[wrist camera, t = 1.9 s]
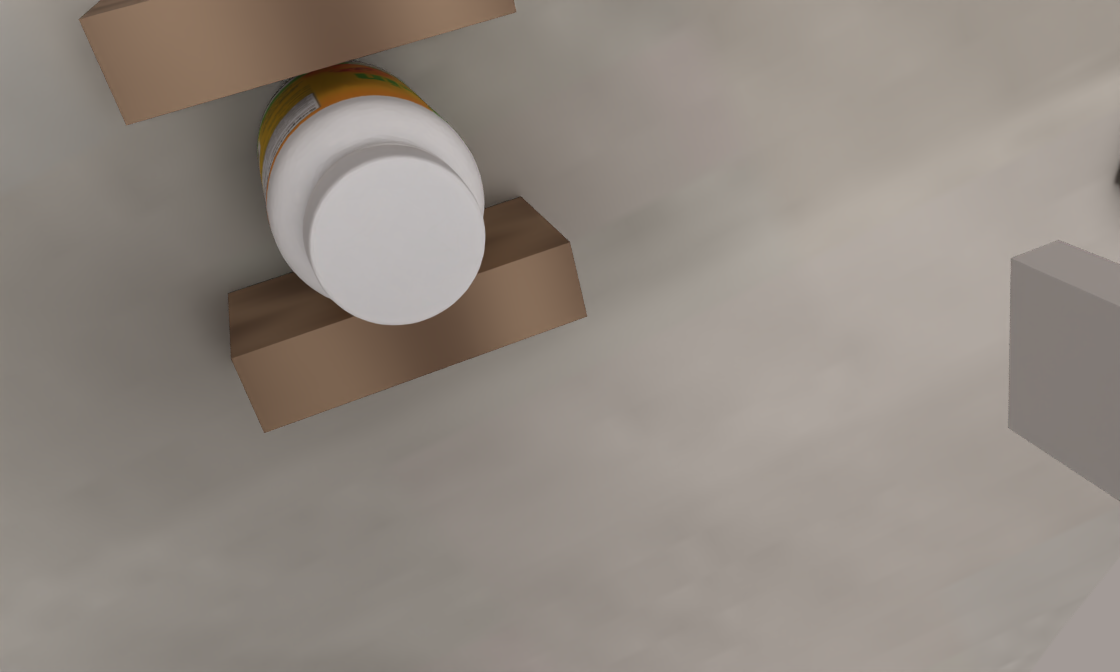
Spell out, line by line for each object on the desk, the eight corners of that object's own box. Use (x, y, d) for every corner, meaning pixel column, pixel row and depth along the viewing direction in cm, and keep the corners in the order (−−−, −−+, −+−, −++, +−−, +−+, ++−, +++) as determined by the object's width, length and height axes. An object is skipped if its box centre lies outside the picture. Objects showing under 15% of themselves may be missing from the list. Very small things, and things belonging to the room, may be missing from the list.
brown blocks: (256, 359, 31) (264, 433, 27) (100, 0, 26) (78, 19, 21) (537, 262, 33) (586, 316, 29) (448, -92, 28) (492, -91, 23)
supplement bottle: (465, 125, 30) (562, 209, 22) (370, 260, 31) (430, 392, 23) (319, 20, 28) (367, 70, 19) (220, 171, 28) (225, 282, 20)
